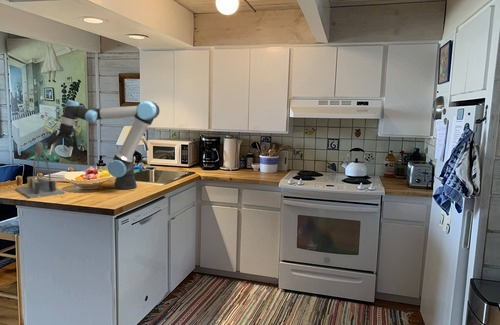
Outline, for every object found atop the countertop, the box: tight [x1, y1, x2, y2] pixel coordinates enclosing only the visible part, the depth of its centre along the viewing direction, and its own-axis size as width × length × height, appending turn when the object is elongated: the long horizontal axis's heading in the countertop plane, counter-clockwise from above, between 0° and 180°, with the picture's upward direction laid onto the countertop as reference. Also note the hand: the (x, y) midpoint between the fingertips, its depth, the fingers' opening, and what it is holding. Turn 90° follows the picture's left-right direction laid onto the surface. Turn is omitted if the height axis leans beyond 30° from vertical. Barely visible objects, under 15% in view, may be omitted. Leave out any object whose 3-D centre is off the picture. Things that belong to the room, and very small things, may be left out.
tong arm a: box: [37, 177, 57, 191], centre depth 232 cm, size 19×2×6 cm, turn 57°
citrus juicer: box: [32, 141, 52, 180], centre depth 255 cm, size 11×10×30 cm
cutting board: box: [15, 186, 66, 199], centre depth 231 cm, size 30×20×1 cm, turn 47°
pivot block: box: [26, 175, 42, 188], centre depth 238 cm, size 5×7×8 cm
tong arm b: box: [32, 178, 39, 193], centre depth 227 cm, size 19×2×6 cm, turn 37°
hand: (59, 155), depth 233 cm, fingers open, 13 cm apart
